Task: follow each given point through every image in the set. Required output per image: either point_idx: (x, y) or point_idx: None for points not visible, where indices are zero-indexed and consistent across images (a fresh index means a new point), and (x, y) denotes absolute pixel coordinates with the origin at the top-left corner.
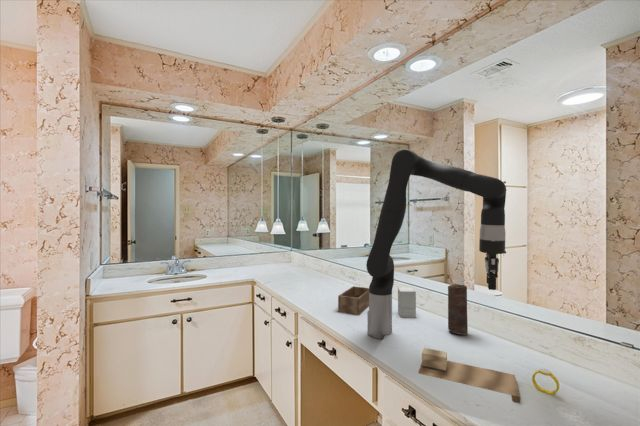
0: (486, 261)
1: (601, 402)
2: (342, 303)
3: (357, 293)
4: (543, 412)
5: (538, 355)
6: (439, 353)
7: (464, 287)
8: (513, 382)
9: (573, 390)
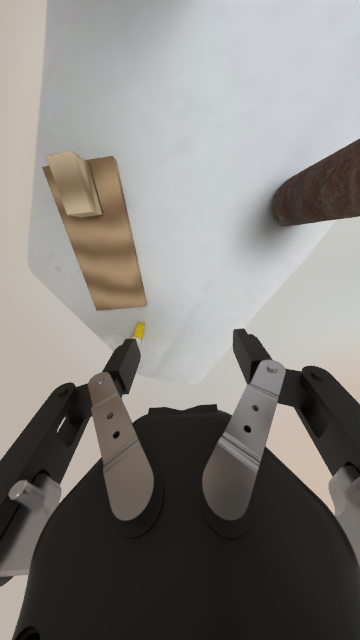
0: (108, 476)
1: (152, 363)
2: None
3: None
4: (98, 325)
5: None
6: (74, 197)
7: None
8: (124, 304)
9: (161, 349)
